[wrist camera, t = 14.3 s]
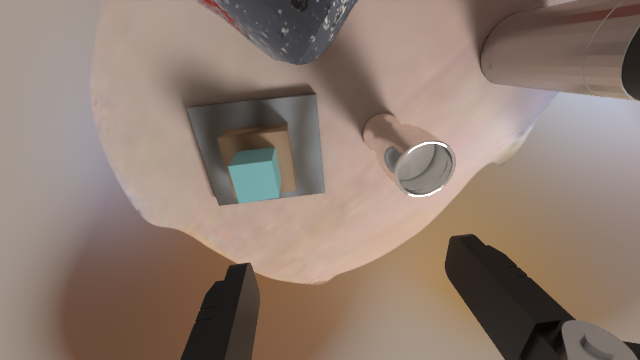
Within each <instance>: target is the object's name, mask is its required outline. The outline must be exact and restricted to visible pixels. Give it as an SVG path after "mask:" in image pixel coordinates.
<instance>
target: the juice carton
mask: <svg viewBox="0 0 640 360" xmlns="http://www.w3.org/2000/svg"><path fill="white" fill-rule="evenodd" d="M194 1H196V2H197V3H199V4H200V5H202V6H203V7H205V8H206V9H208V10H210V11H211V12H213V13H214V14H216V15H218V16H219V17H221V18H222V19H224V20H225V21H227V22H228V23H229V24H230V25H232V26H233V27H234V28H235V29H236V30H238V31H239V32H240V33H241V34H242V35H243V36H244V37H246V38H247V39H248V40H249V41H250V42H251V43H252V44H254V45H255V46H256V47H257V48H259V49H260V50H261V51H263V52H264V53H265V54H267V55H268V56H270V57H271V58H273V59H274V60H277V61H284V62H288V63H292V64H296V65H301V64H306V63H309V62H311V61H313V60H315V59H316V58H317V57H319V56H320V55H321V54H322V53H323V52H324V51H325V50H326V49H327V47H328V46H329V45H330V44H331V42H332V41H333V39H334V38H335V36H336V35H337V33H338V32H339V30H340V28H341V27H342V25H343V23H344V21H345V20H346V18H347V16H348V15H349V13H350V11H351V10H352V8H353V7H354V5H355V4H356V2H357V1H358V0H194Z"/></svg>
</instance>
